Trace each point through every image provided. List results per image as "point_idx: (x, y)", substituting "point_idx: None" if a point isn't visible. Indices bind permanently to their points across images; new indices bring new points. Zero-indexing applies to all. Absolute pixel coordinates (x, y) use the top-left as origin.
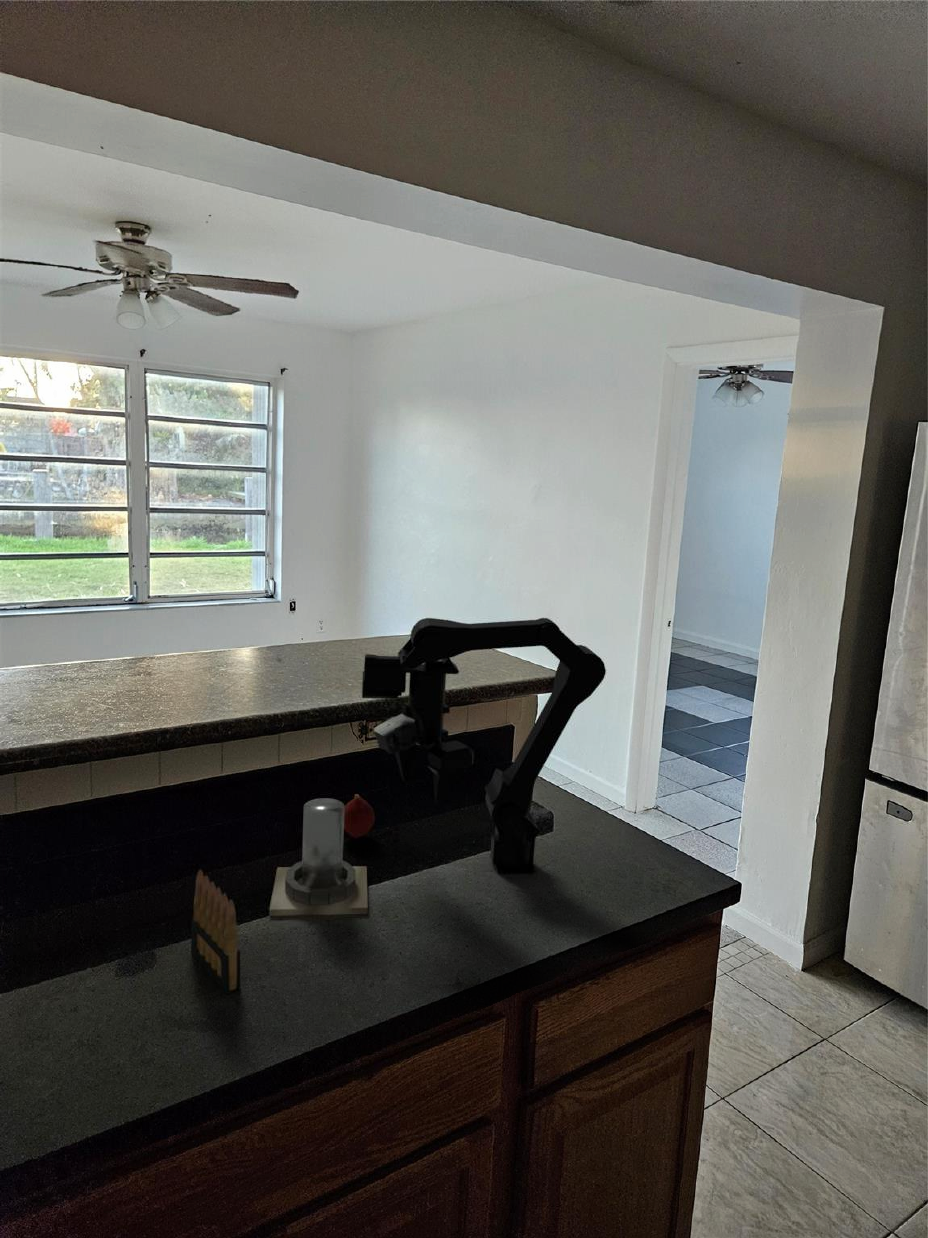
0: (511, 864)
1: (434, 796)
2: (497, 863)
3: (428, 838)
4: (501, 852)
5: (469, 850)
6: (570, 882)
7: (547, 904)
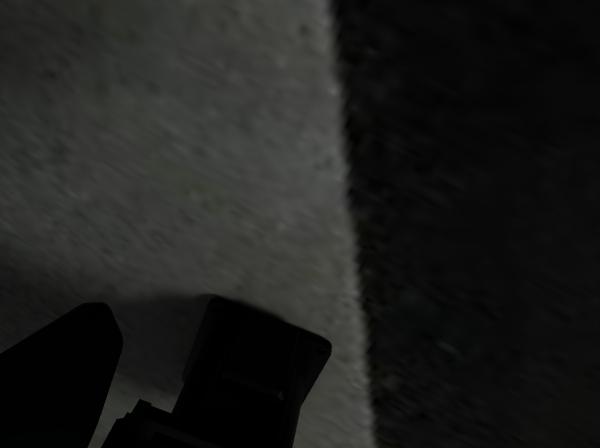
0: (203, 348)
1: (66, 328)
2: (237, 322)
3: (574, 231)
4: (220, 358)
5: (397, 305)
6: (122, 408)
7: (29, 310)
